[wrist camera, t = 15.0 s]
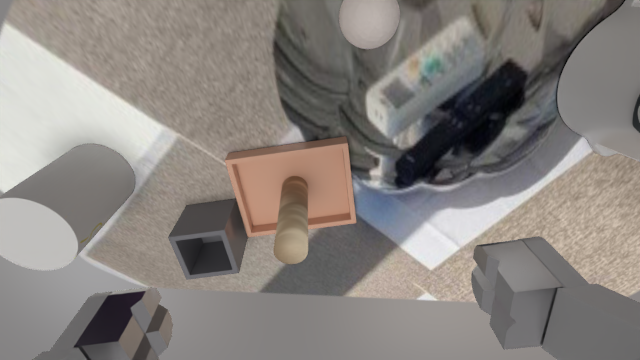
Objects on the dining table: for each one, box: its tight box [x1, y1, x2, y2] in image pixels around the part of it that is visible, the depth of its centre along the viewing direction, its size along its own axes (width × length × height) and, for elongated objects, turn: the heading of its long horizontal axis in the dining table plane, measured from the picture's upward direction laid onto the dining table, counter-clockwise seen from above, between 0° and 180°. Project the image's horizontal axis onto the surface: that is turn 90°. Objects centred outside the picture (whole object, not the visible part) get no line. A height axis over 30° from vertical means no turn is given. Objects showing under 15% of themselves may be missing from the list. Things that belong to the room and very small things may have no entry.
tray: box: [225, 136, 356, 237], centre depth 42 cm, size 14×11×2 cm
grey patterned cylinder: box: [0, 144, 135, 270], centre depth 36 cm, size 8×8×12 cm
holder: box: [168, 199, 247, 280], centre depth 42 cm, size 6×6×7 cm
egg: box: [339, 0, 400, 49], centre depth 31 cm, size 5×5×8 cm
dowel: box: [274, 176, 308, 264], centre depth 37 cm, size 3×3×12 cm
